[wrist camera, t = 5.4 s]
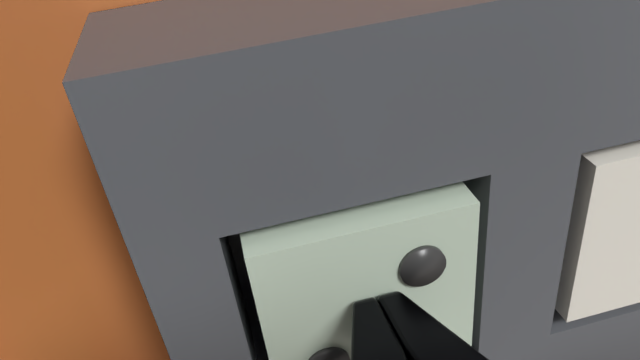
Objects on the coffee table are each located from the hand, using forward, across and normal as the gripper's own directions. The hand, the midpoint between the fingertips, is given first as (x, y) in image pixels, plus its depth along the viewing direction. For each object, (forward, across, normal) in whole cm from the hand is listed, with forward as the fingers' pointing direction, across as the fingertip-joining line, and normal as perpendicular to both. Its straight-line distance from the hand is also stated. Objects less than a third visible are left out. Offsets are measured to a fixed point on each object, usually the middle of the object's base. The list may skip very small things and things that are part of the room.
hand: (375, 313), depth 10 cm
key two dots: (+2, 0, 0) cm, 2 cm away
